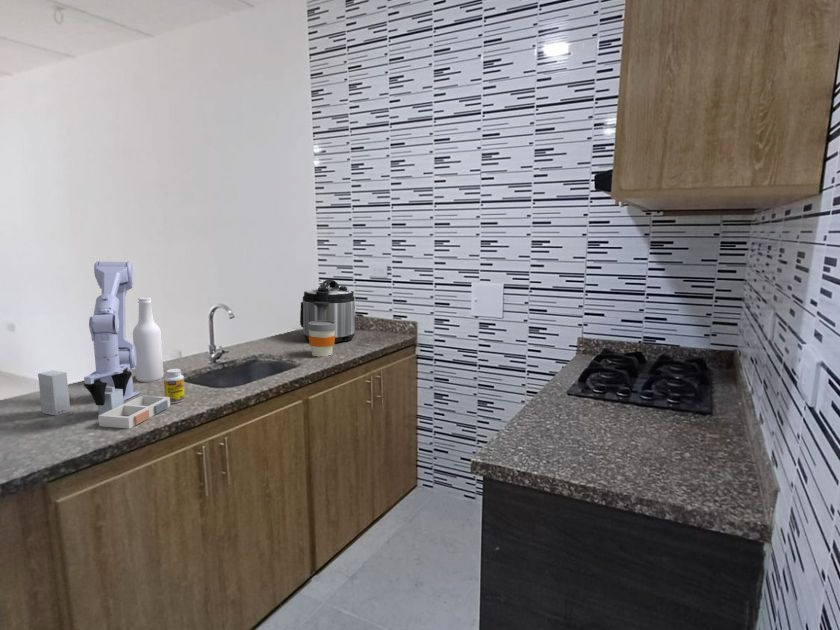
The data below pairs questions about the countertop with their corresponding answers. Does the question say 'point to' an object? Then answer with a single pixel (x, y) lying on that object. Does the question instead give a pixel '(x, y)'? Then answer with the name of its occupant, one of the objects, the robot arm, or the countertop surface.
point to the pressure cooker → (329, 309)
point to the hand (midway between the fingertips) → (110, 400)
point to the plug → (111, 399)
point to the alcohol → (147, 344)
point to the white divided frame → (134, 411)
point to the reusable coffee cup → (321, 337)
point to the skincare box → (54, 392)
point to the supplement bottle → (174, 386)
